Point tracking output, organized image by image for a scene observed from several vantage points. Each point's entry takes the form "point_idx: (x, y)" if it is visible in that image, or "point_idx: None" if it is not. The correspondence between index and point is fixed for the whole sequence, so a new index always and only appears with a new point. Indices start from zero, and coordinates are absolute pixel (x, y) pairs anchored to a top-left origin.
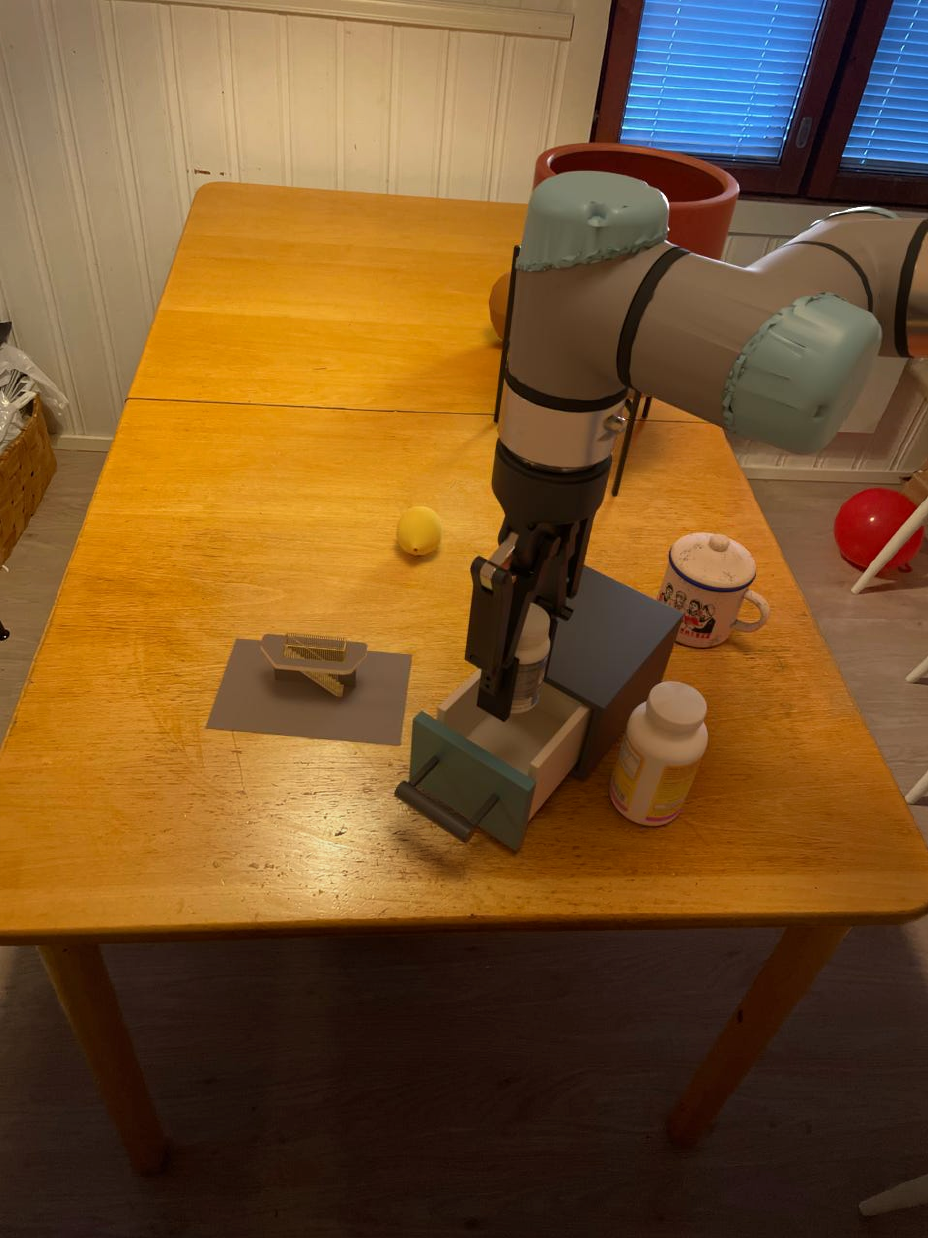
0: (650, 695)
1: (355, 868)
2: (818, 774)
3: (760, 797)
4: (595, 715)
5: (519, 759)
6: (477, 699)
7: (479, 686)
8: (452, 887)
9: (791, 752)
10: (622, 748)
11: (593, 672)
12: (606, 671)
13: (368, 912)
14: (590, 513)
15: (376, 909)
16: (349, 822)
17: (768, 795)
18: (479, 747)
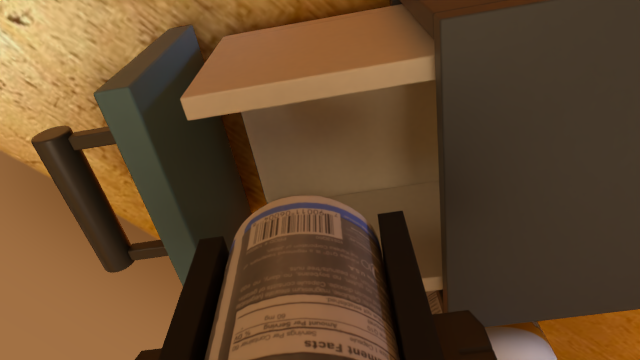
0: None
1: (19, 88)
2: (617, 344)
3: (539, 325)
4: (440, 299)
5: (347, 140)
6: (194, 255)
7: (180, 297)
8: (137, 192)
9: (637, 316)
10: (435, 307)
11: (531, 272)
12: (552, 285)
13: (12, 151)
14: None
15: (25, 154)
16: (41, 13)
17: (548, 328)
18: (188, 237)
